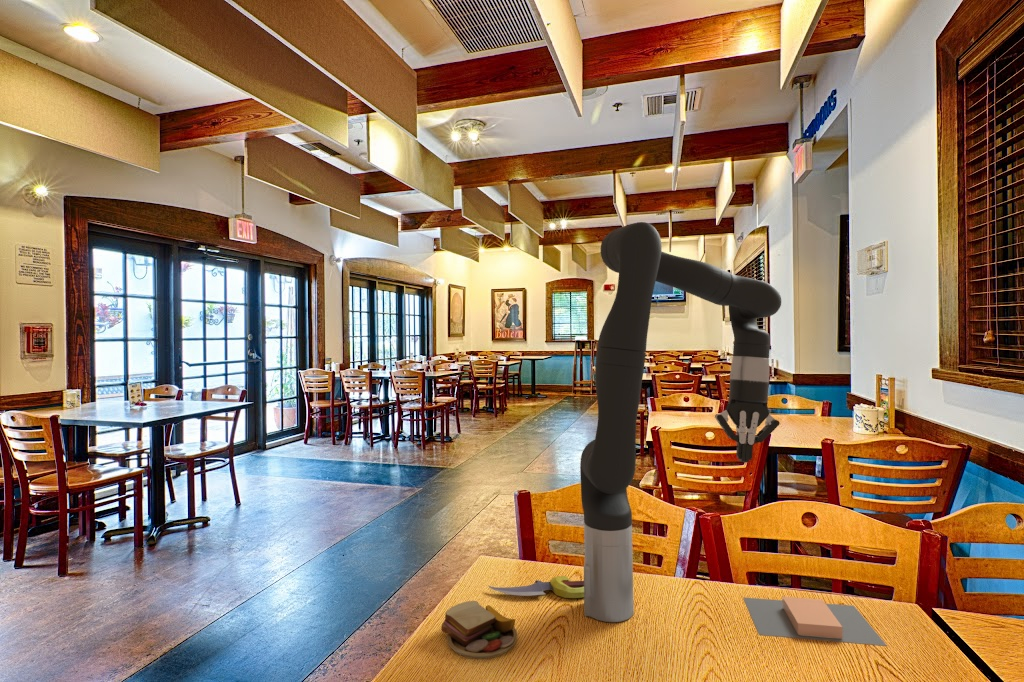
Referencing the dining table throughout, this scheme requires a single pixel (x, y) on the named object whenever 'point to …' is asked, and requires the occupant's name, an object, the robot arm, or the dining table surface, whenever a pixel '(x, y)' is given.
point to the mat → (777, 623)
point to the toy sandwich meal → (478, 631)
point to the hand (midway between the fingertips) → (743, 461)
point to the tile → (812, 617)
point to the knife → (548, 588)
